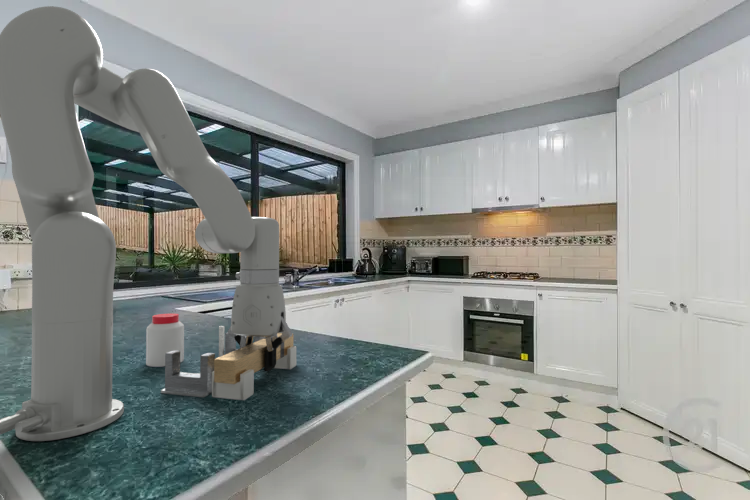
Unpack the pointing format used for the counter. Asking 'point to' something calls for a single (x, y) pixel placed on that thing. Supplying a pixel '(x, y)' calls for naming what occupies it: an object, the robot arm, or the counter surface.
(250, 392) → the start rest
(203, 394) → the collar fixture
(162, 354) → the pill bottle
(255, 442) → the counter surface
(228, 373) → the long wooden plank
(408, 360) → the counter surface
